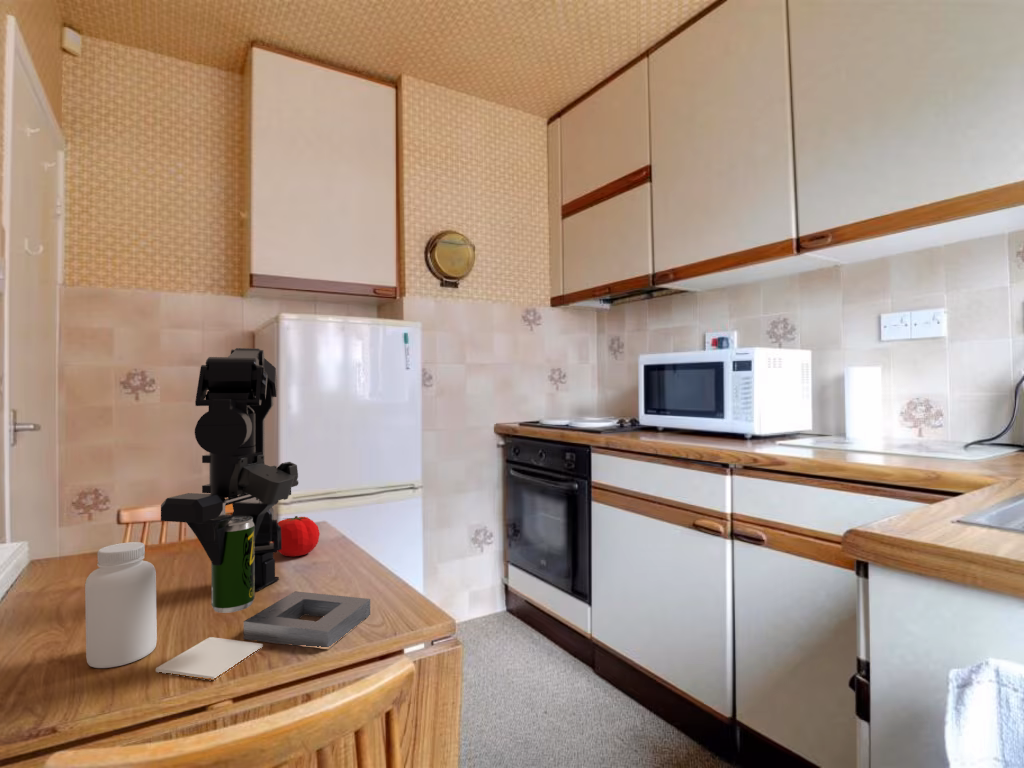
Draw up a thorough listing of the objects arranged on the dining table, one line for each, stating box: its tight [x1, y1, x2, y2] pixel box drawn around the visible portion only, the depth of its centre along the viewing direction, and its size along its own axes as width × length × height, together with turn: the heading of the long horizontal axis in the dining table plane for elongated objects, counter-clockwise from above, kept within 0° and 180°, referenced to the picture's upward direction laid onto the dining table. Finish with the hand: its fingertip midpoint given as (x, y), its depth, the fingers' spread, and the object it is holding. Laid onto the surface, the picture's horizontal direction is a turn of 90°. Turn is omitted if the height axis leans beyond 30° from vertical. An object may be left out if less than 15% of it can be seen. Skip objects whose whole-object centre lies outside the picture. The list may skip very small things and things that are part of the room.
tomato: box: [271, 515, 321, 558], centre depth 120 cm, size 9×10×8 cm
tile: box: [155, 636, 264, 679], centre depth 74 cm, size 9×9×1 cm
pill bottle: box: [84, 541, 158, 669], centre depth 75 cm, size 8×8×15 cm
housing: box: [243, 590, 371, 647], centre depth 83 cm, size 14×12×3 cm
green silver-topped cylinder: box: [210, 516, 256, 614], centre depth 75 cm, size 5×5×12 cm
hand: (232, 558), depth 75 cm, fingers closed on green silver-topped cylinder, 5 cm apart
